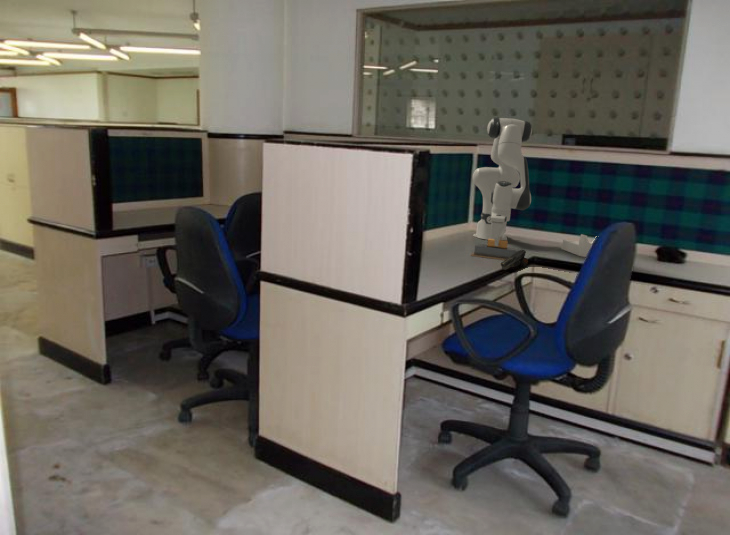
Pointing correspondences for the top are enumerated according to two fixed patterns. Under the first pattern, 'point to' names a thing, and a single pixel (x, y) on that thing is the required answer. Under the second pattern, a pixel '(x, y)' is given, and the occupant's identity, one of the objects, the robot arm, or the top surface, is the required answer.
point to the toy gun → (515, 260)
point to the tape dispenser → (577, 246)
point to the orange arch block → (502, 243)
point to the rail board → (493, 252)
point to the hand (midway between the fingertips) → (497, 245)
